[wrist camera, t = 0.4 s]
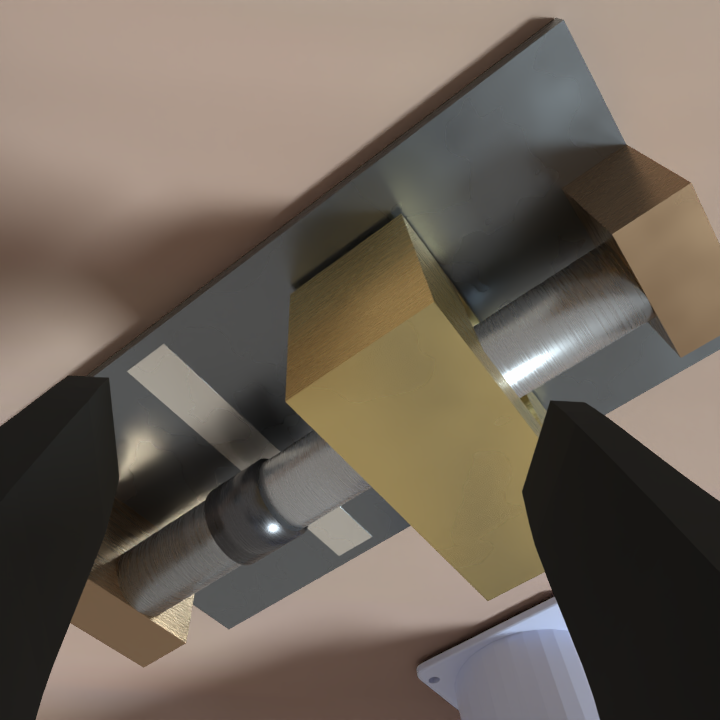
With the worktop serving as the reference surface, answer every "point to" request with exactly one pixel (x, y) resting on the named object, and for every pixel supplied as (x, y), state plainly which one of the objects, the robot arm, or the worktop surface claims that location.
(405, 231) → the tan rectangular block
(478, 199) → the pipe rig
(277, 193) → the worktop surface
